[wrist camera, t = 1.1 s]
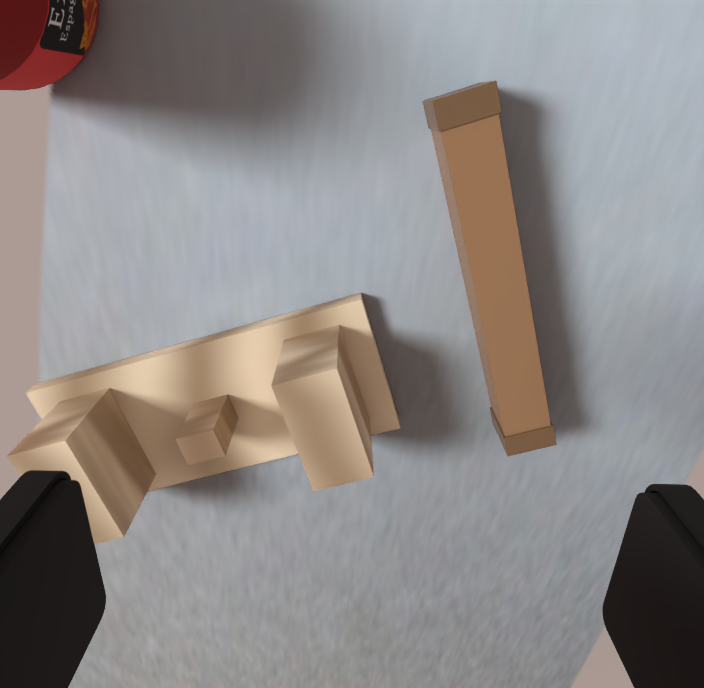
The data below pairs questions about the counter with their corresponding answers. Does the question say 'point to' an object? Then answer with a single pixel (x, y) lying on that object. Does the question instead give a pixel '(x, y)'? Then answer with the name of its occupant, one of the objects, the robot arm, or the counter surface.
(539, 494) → the counter surface
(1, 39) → the canned food
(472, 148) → the frame bar
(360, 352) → the display stand
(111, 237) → the counter surface
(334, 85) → the counter surface
